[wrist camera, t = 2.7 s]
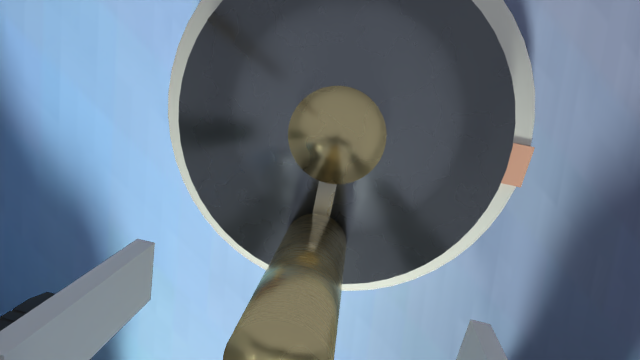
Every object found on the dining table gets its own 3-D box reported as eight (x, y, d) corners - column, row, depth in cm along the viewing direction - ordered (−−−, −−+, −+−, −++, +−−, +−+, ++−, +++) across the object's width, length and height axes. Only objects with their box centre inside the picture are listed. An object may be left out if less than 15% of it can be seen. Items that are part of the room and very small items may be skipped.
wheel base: (176, 233, 29) (152, 253, 26) (207, -87, 23) (180, -117, 20) (458, 298, 28) (471, 328, 24) (566, -24, 22) (603, -45, 18)
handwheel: (211, -69, 20) (1, -278, 8) (549, -9, 19) (840, -155, 7) (181, 233, 25) (22, 363, 13) (449, 296, 24) (530, 497, 12)
